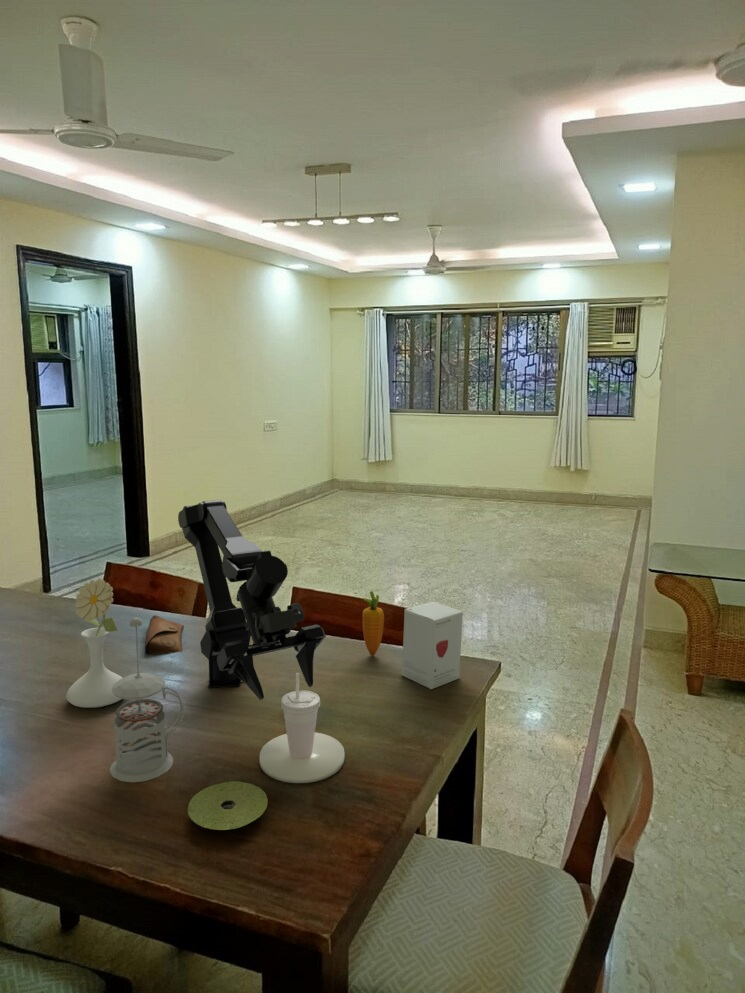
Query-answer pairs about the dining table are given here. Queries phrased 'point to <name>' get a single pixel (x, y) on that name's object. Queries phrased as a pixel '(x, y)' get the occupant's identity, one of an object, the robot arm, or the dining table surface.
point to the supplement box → (432, 644)
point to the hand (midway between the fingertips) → (287, 692)
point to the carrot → (373, 624)
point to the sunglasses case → (163, 636)
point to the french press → (141, 726)
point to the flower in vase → (95, 648)
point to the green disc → (227, 805)
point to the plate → (302, 760)
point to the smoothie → (300, 720)
